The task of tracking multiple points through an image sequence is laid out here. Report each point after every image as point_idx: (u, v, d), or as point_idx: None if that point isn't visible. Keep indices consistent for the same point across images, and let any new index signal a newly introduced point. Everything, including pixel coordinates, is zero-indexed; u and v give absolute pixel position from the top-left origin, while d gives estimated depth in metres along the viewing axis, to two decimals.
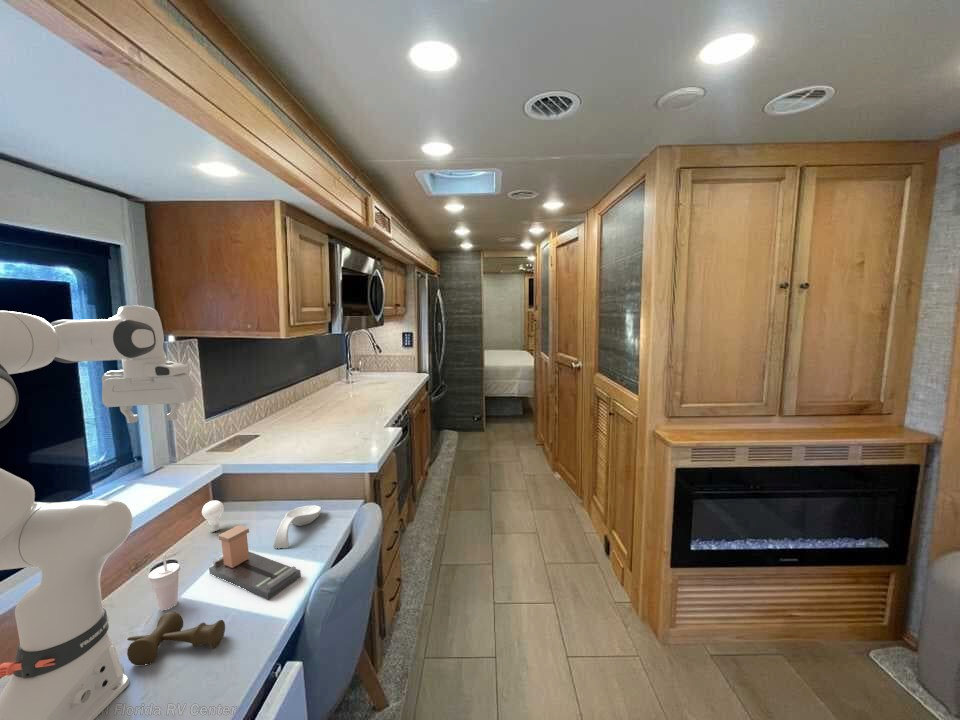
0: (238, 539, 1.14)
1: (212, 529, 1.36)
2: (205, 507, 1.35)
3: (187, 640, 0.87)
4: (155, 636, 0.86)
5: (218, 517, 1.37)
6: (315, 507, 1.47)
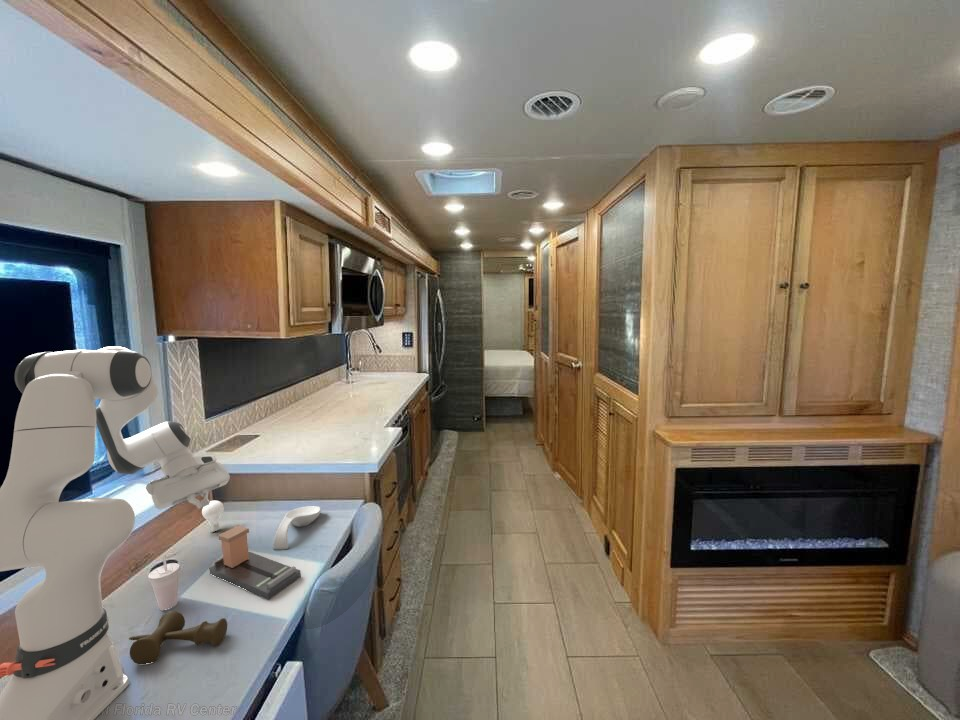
0: (238, 539, 1.14)
1: (212, 529, 1.36)
2: (205, 507, 1.35)
3: (189, 638, 0.87)
4: (157, 635, 0.86)
5: (218, 517, 1.37)
6: (315, 508, 1.47)
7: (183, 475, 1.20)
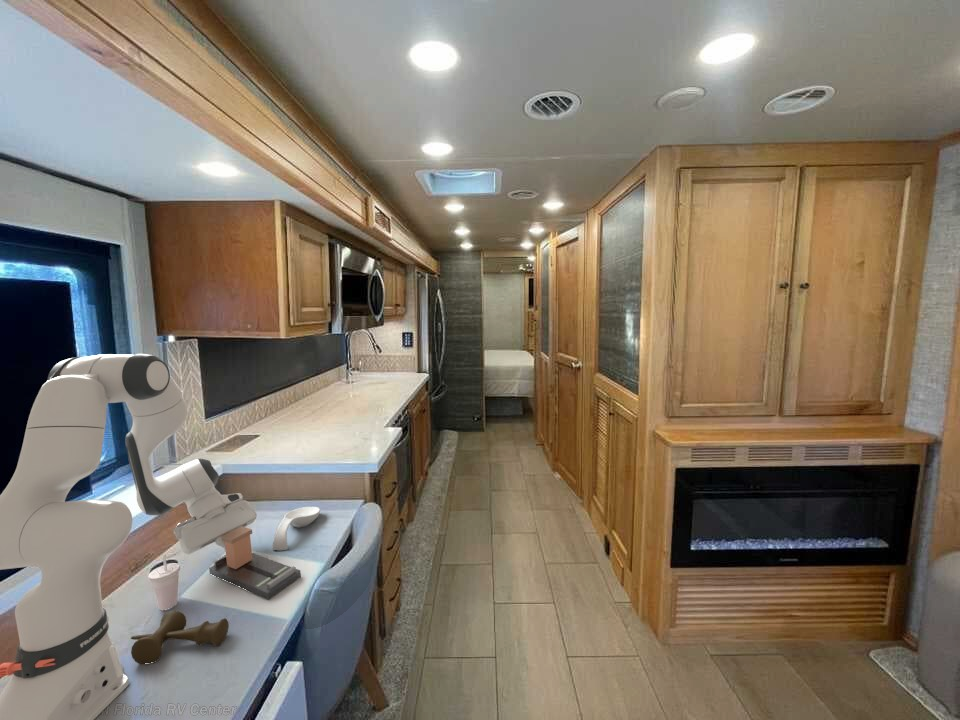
0: (241, 540, 1.13)
1: None
2: None
3: (190, 638, 0.87)
4: (159, 635, 0.86)
5: None
6: (314, 508, 1.46)
7: (210, 516, 1.16)
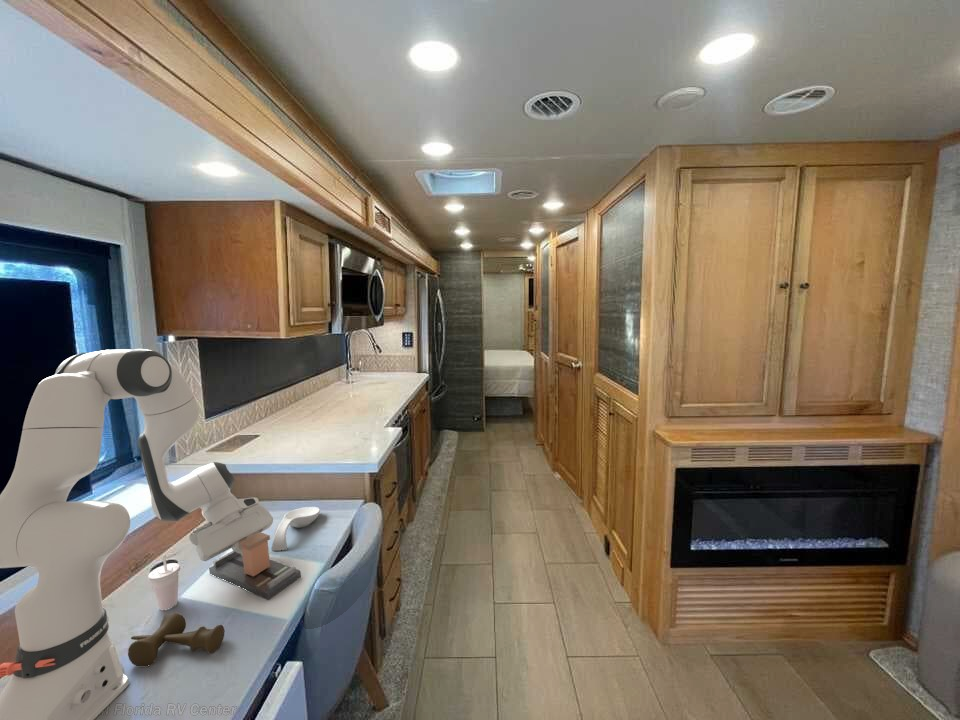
0: (259, 546, 1.10)
1: None
2: None
3: (186, 643, 0.86)
4: (156, 637, 0.85)
5: None
6: (314, 508, 1.46)
7: (227, 521, 1.12)
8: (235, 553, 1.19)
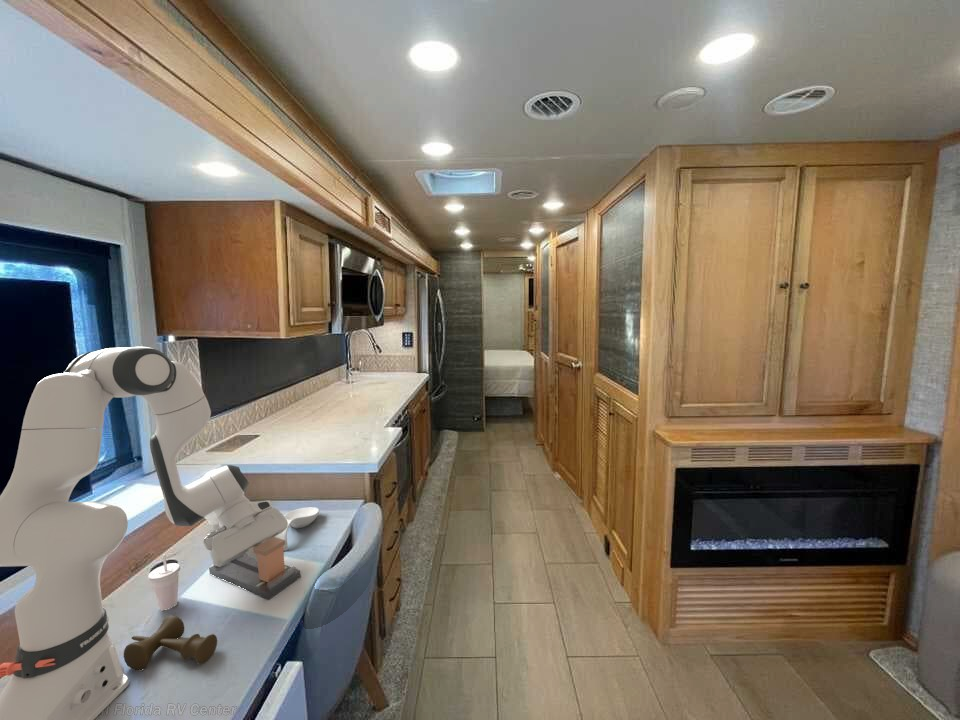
0: (274, 552, 1.07)
1: (212, 529, 1.36)
2: None
3: (178, 650, 0.84)
4: (151, 641, 0.84)
5: None
6: (313, 509, 1.46)
7: (241, 525, 1.09)
8: None
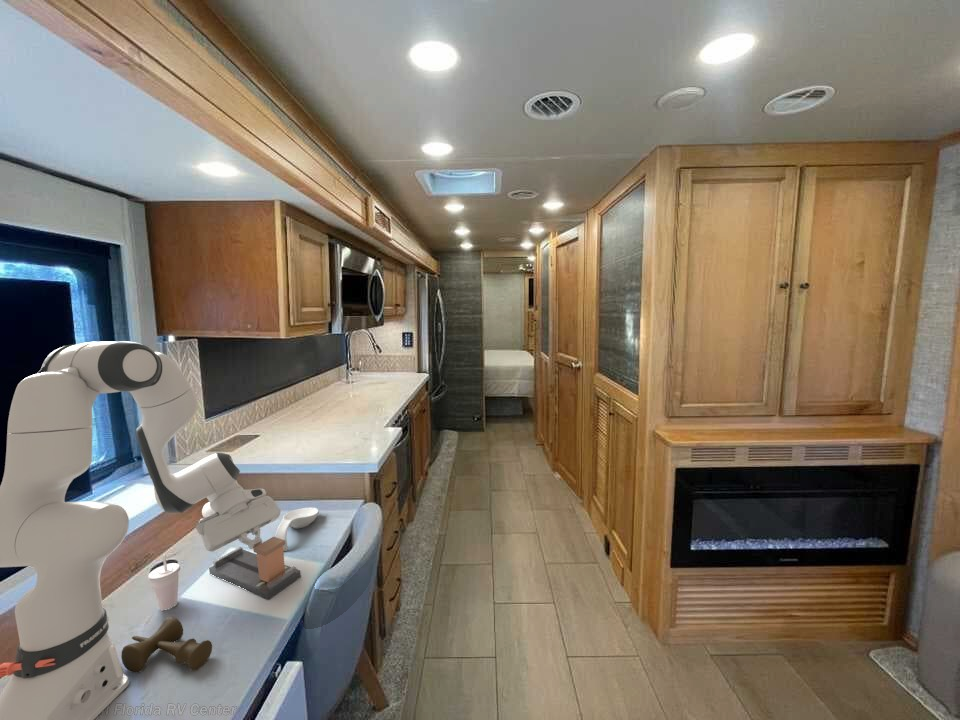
0: (274, 552, 1.07)
1: None
2: (205, 507, 1.35)
3: (173, 655, 0.83)
4: (148, 643, 0.84)
5: None
6: (312, 509, 1.46)
7: (234, 512, 1.10)
8: (235, 553, 1.19)
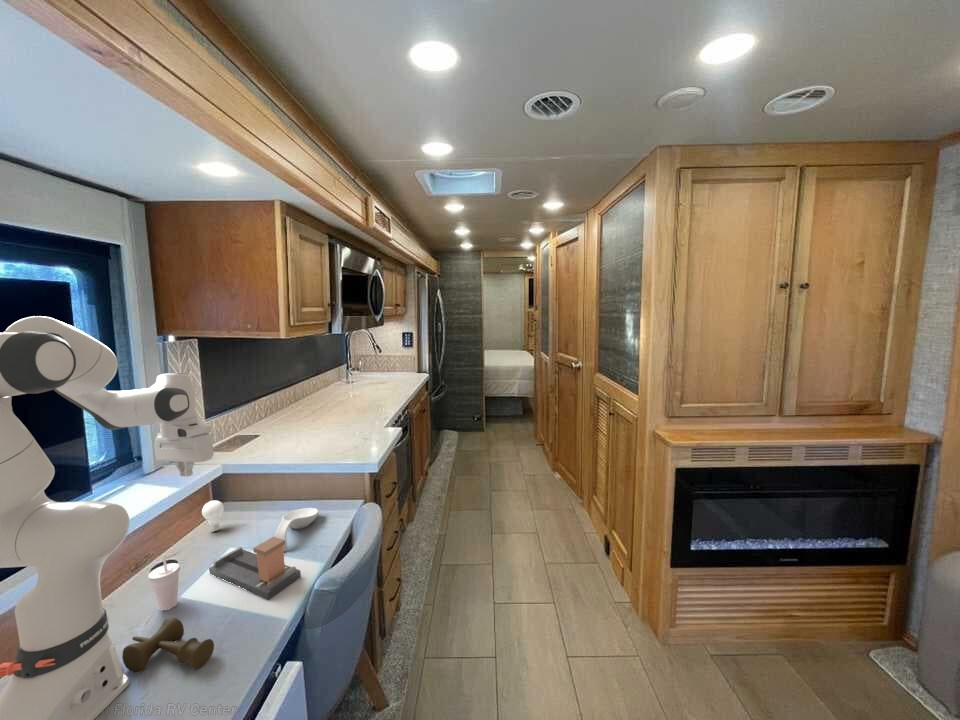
0: (274, 552, 1.07)
1: (212, 529, 1.36)
2: (205, 507, 1.35)
3: (175, 654, 0.83)
4: (149, 643, 0.84)
5: (218, 517, 1.37)
6: (312, 509, 1.45)
7: (167, 441, 1.11)
8: (235, 553, 1.19)
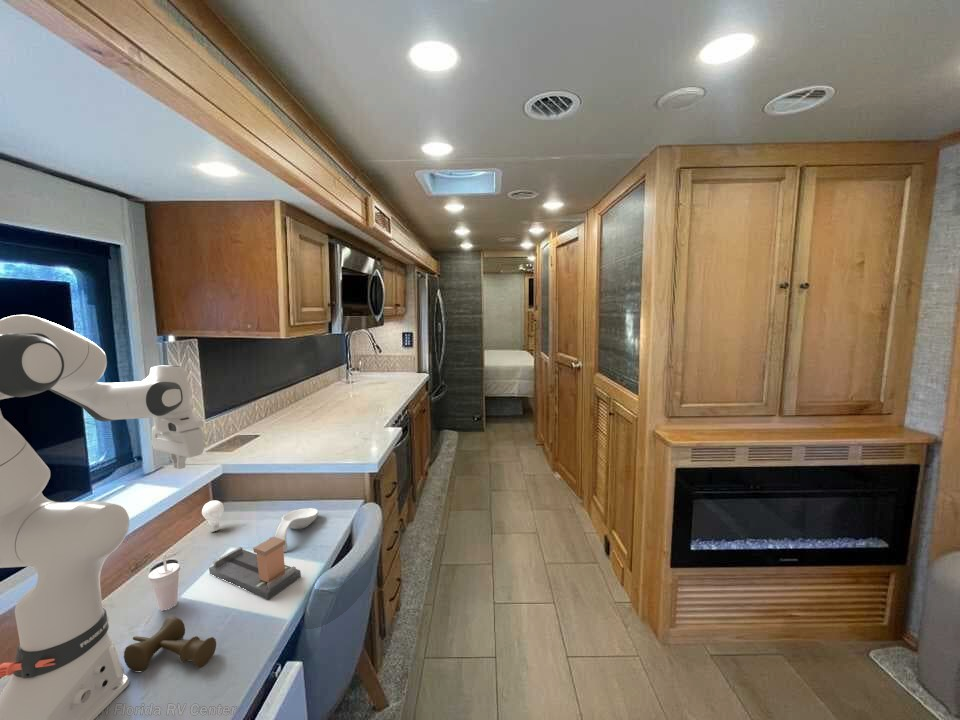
0: (274, 552, 1.07)
1: (212, 529, 1.36)
2: (205, 507, 1.35)
3: (177, 653, 0.83)
4: (151, 642, 0.84)
5: (218, 517, 1.37)
6: (311, 510, 1.45)
7: None
8: (235, 553, 1.19)
